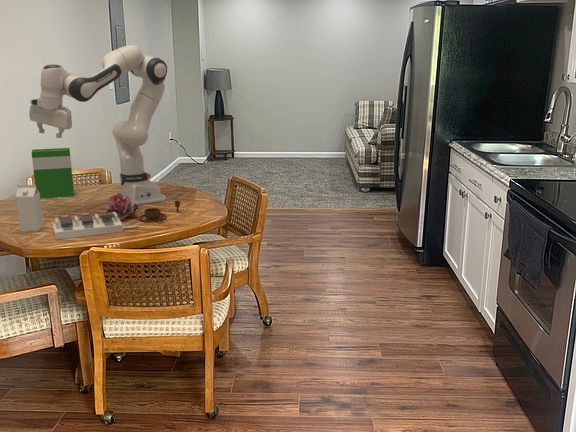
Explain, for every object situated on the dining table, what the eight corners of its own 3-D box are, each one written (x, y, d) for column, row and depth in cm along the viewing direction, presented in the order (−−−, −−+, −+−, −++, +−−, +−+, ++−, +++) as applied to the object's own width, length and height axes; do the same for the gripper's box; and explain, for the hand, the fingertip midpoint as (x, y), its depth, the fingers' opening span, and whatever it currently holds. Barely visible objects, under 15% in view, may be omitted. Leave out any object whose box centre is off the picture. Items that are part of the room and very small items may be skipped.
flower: (103, 207, 259) (104, 188, 254) (136, 209, 263) (138, 191, 259) (101, 225, 247) (103, 205, 242) (136, 227, 251) (138, 208, 246)
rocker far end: (71, 218, 235) (70, 214, 234) (73, 226, 230) (72, 221, 229) (59, 219, 233) (59, 215, 233) (61, 227, 228) (61, 223, 227)
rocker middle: (91, 216, 239) (90, 212, 238) (93, 223, 233) (93, 219, 232) (80, 217, 237) (79, 213, 236) (82, 225, 231) (82, 220, 230)
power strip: (133, 221, 248) (132, 209, 246) (139, 229, 236) (138, 216, 235) (53, 230, 234) (52, 217, 233) (55, 239, 223) (54, 226, 221)
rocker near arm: (111, 217, 242) (110, 213, 242) (113, 218, 236) (113, 213, 235) (100, 219, 240) (100, 214, 240) (102, 219, 234) (102, 215, 234)
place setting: (136, 216, 258) (135, 204, 256) (179, 212, 265) (179, 200, 264) (142, 227, 242) (141, 213, 241) (188, 222, 250) (188, 209, 248)
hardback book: (36, 199, 285) (31, 151, 279) (37, 195, 292) (32, 149, 285) (74, 196, 291) (69, 150, 285) (74, 193, 298) (69, 147, 291)
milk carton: (26, 227, 239) (20, 183, 234) (43, 226, 240) (38, 183, 234) (20, 232, 232) (14, 187, 227) (37, 231, 233) (32, 186, 228)
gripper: (76, 107, 241) (74, 139, 245) (38, 98, 247) (37, 129, 251) (65, 108, 235) (64, 141, 240) (27, 99, 241) (26, 131, 246)
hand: (50, 135), depth 246 cm, fingers open, 8 cm apart
